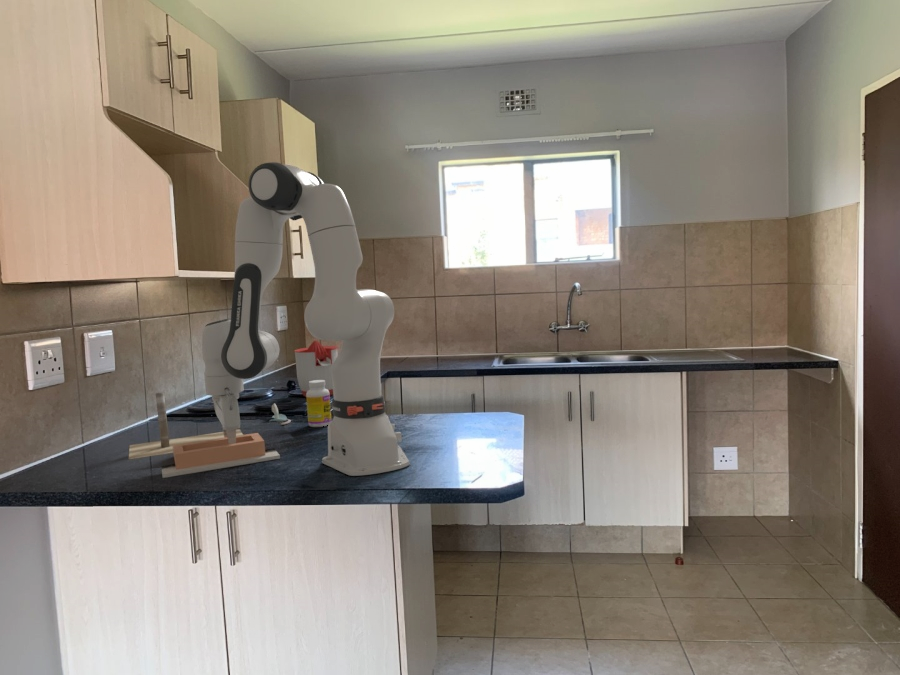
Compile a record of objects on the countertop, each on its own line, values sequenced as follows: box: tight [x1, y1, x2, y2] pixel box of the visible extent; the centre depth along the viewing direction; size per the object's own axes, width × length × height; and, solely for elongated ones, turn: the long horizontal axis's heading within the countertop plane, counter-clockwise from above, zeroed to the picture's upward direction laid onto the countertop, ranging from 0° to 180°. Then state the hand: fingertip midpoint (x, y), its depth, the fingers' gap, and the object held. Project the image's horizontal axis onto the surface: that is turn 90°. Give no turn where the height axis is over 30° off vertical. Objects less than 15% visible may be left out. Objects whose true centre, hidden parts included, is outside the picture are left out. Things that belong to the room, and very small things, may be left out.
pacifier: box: [268, 403, 292, 426], centre depth 202 cm, size 7×6×6 cm
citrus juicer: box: [293, 339, 339, 398], centre depth 245 cm, size 16×17×20 cm
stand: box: [128, 391, 244, 460], centre depth 177 cm, size 16×28×16 cm, turn 114°
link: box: [172, 432, 266, 470], centre depth 164 cm, size 10×20×4 cm, turn 114°
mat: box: [160, 447, 281, 479], centre depth 164 cm, size 14×26×1 cm, turn 114°
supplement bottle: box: [305, 380, 332, 428], centre depth 196 cm, size 7×7×13 cm
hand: (229, 440), depth 168 cm, fingers open, 8 cm apart
